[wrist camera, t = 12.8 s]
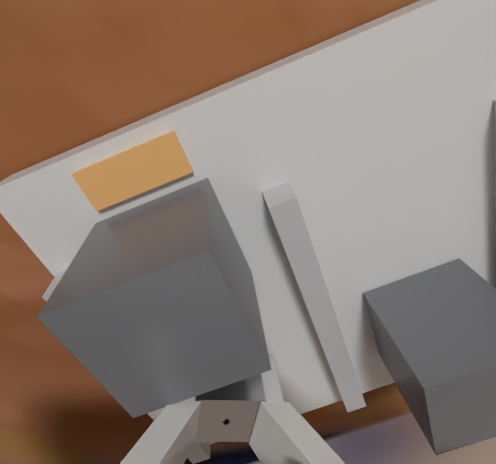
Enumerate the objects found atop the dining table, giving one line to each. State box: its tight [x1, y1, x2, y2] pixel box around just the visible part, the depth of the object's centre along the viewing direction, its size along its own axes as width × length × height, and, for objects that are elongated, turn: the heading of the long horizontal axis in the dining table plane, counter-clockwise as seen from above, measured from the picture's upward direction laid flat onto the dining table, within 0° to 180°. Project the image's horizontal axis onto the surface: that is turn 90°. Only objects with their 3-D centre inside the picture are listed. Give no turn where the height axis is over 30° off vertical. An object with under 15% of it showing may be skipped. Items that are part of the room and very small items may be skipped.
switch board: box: [0, 0, 496, 464], centre depth 12 cm, size 22×14×3 cm, turn 111°
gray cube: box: [37, 178, 271, 418], centre depth 9 cm, size 4×4×4 cm
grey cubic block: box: [363, 258, 496, 455], centre depth 11 cm, size 4×4×4 cm
